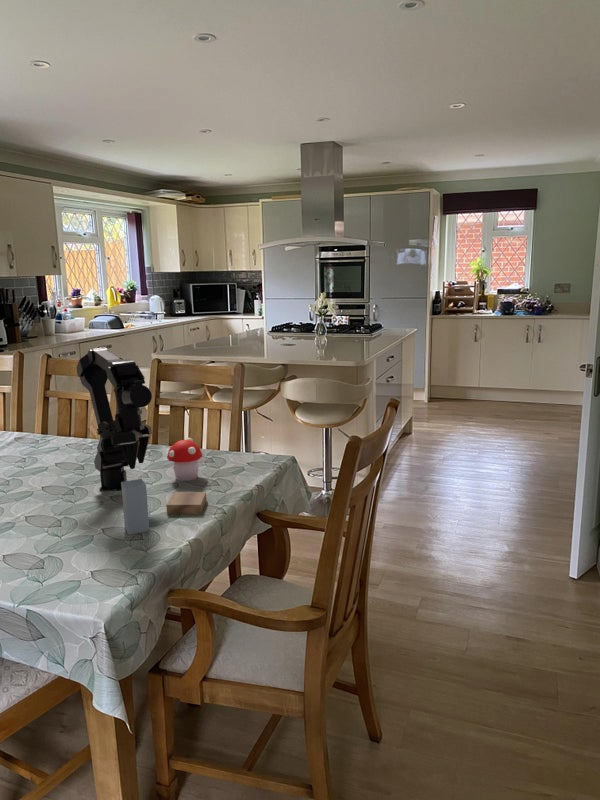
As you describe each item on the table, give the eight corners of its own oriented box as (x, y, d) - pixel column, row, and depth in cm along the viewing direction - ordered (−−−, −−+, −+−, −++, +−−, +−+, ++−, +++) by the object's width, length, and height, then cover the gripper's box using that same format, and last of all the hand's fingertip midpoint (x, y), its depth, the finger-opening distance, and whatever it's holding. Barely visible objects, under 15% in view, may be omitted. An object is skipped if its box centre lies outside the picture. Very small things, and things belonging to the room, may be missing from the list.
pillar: (124, 527, 150) (121, 482, 147) (144, 523, 152) (141, 478, 149) (128, 534, 145) (125, 488, 143) (149, 530, 148) (146, 484, 145)
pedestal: (167, 515, 158) (166, 504, 157) (174, 502, 166) (173, 492, 166) (201, 515, 157) (200, 504, 157) (206, 502, 166) (206, 492, 166)
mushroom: (188, 485, 178) (186, 446, 176) (160, 479, 183) (158, 442, 181) (210, 474, 187) (208, 437, 185) (183, 469, 192) (181, 433, 190)
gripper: (108, 409, 167) (116, 464, 168) (86, 415, 149) (95, 476, 150) (148, 404, 168) (156, 458, 169) (130, 409, 149) (140, 470, 150)
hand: (137, 465), depth 159 cm, fingers open, 9 cm apart
